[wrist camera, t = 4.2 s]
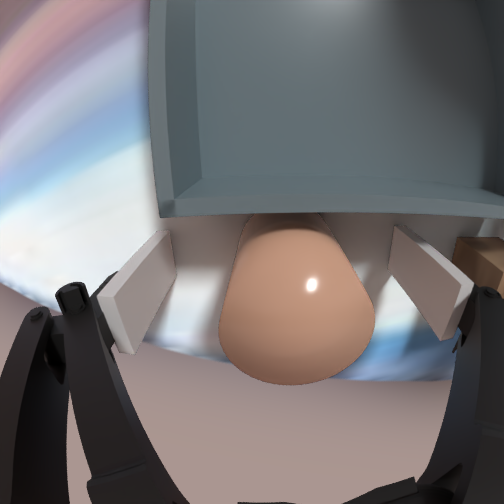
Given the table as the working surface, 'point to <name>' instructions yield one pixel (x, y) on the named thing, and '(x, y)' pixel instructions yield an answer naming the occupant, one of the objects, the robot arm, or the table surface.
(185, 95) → the tote
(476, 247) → the walnut cube
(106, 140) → the table surface
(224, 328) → the peach colored egg
